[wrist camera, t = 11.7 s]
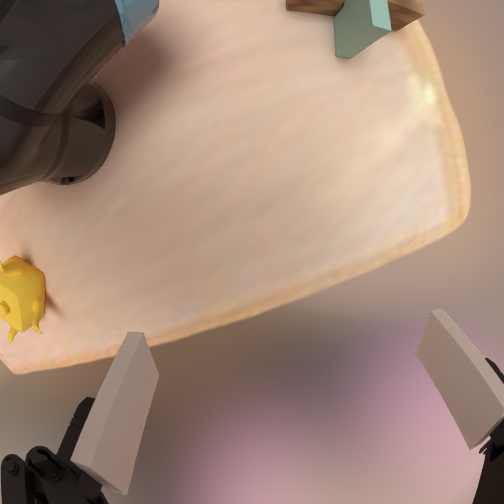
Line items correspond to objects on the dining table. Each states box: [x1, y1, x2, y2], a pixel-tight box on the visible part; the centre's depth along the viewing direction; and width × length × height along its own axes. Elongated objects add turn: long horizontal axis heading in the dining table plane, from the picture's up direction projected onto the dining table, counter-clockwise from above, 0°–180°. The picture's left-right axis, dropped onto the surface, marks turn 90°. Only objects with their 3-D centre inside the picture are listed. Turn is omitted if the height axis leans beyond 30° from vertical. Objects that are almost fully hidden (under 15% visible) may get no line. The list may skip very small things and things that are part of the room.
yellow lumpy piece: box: [0, 256, 45, 344], centre depth 35 cm, size 15×14×10 cm
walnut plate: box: [286, 0, 424, 31], centre depth 21 cm, size 16×2×8 cm, turn 90°
